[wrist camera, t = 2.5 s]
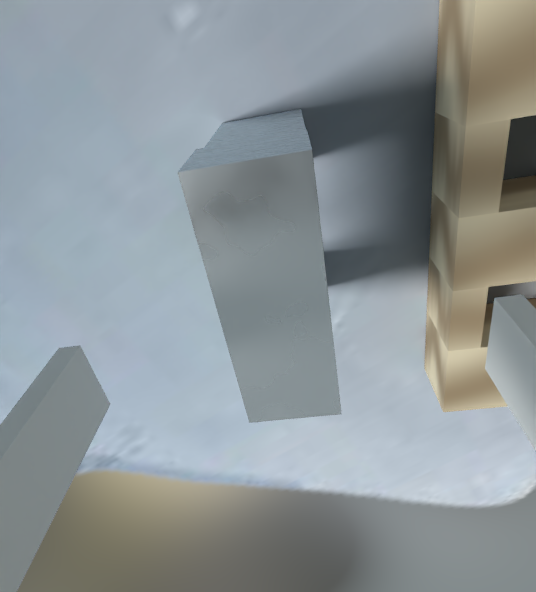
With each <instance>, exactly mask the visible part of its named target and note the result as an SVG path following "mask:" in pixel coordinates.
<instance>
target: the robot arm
mask: <svg viewBox="0 0 536 592" xmlns="http://www.w3.org/2000/svg"><path fill="white" fill-rule="evenodd" d="M485 369H486V371H487V373H488V374H489V376H490V378H491V379H492V381H493V382H494V384H495V386H496V387H497V389H498V391H499V392H500V394H501V396H502V397H503V399H504V400H505V402H506V404H507V405H508V407H509V409H510V410H511V412H512V414H513V415H514V417H515V418H516V420H517V422H518V423H519V425H520V427H521V428H522V430H523V432H524V433H525V435H526V436H527V438H528V440H529V441H530V443H531V445H532V446H533V448H534V450H535V451H536V309H535V307H534V306H533V305H532V304H531V303H530V302H529V301H528V300H527V299H526V298H525V297H524V296H523V295H513V296H505V297H496V298H494V305H493V313H492V320H491V327H490V335H489V342H488V350H487V357H486V364H485ZM109 406H110V403H109V401H108V399H107V397H106V395H105V393H104V391H103V389H102V387H101V385H100V383H99V381H98V379H97V378H96V376H95V374H94V372H93V370H92V368H91V366H90V364H89V362H88V360H87V358H86V356H85V354H84V352H83V350H82V348H81V347H80V346H73V347H64V348H59V349H58V350H57V351H56V353H55V354H54V355H53V356H52V358H51V359H50V360H49V362H48V363H47V364H46V366H45V367H44V368H43V370H42V371H41V372H40V374H39V375H38V376H37V377H36V379H35V380H34V381H33V383H32V384H31V385H30V387H29V388H28V389H27V391H26V392H25V393H24V395H23V396H22V397H21V398H20V400H19V401H18V402H17V404H16V405H15V406H14V408H13V409H12V410H11V412H10V413H9V414H8V416H7V417H6V418H5V419H4V421H3V422H2V423H1V425H0V592H17V590H18V588H19V586H20V584H21V582H22V580H23V578H24V576H25V574H26V572H27V570H28V568H29V566H30V564H31V562H32V560H33V558H34V556H35V554H36V552H37V550H38V548H39V546H40V544H41V542H42V540H43V538H44V536H45V534H46V532H47V530H48V528H49V526H50V524H51V522H52V520H53V518H54V516H55V514H56V512H57V510H58V508H59V506H60V504H61V502H62V500H63V498H64V496H65V494H66V492H67V490H68V488H69V486H70V484H71V482H72V480H73V478H74V476H75V474H76V472H77V470H78V468H79V466H80V464H81V462H82V460H83V458H84V456H85V454H86V452H87V450H88V448H89V446H90V444H91V442H92V440H93V438H94V436H95V434H96V432H97V430H98V428H99V426H100V424H101V422H102V420H103V418H104V416H105V414H106V412H107V410H108V408H109Z"/></svg>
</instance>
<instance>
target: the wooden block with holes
mask: <svg viewBox="0 0 536 592" xmlns="http://www.w3.org/2000/svg"><path fill="white" fill-rule="evenodd" d="M533 115H536V0H440V4H439V28H438V53H437V77H436V102H435V126H434V150H433V175H432V199H431V224H430V248H429V273H428V297H427V321H426V346H425V371H426V373H427V375H428V378H429V380H430V382H431V385H432V387H433V389H434V392H435V394H436V396H437V399H438V401H439V403H440V406H441V408H442V410H443V412H451V411H462V410H473V409H484V408H495V407H506V406H508V405H507V404H506V402H505V400H504V399H503V397H502V396H501V394H500V392H499V391H498V389H497V387H496V386H495V384H494V382H493V381H492V379H491V378H490V376H489V374H488V373H487V371H486V369H485V364H486V357H487V350H488V342H489V335H490V327H491V320H492V313H493V305H494V303H491V304H486V303H487V295H488V288H489V287H492V286H500V285H508V284H516V283H524V282H532V281H536V175H533V176H527V177H520V178H514V179H507V180H503V175H504V167H505V160H506V152H507V145H508V137H509V130H510V122H511V119H515V118H521V117H527V116H533ZM527 300H528V301H529V302H530V303H531V304H532V305H533V306H534V307H535V309H536V298H533V299H527Z"/></svg>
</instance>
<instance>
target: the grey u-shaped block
mask: <svg viewBox="0 0 536 592" xmlns="http://www.w3.org/2000/svg"><path fill="white" fill-rule="evenodd" d="M178 175H179V179H180V182H181V186H182V189H183V193H184V196H185V200H186V203H187V207H188V210H189V214H190V217H191V221H192V224H193V228H194V231H195V235H196V238H197V242H198V245H199V249H200V252H201V256H202V259H203V262H204V266H205V269H206V273H207V276H208V280H209V283H210V287H211V290H212V294H213V297H214V301H215V304H216V308H217V311H218V315H219V318H220V322H221V325H222V329H223V332H224V336H225V339H226V343H227V346H228V350H229V353H230V357H231V360H232V363H233V367H234V370H235V374H236V377H237V381H238V384H239V388H240V391H241V395H242V398H243V402H244V405H245V409H246V412H247V416H248V419H249V423H250V422H261V421H272V420H283V419H294V418H305V417H315V416H326V415H337V414H341V405H340V396H339V387H338V378H337V369H336V360H335V351H334V342H333V333H332V324H331V315H330V306H329V297H328V288H327V279H326V270H325V261H324V252H323V243H322V234H321V225H320V216H319V207H318V198H317V189H316V180H315V171H314V162H313V153H312V147H311V143H310V139H309V136H308V132H307V130H306V128H305V124H304V120H303V116H302V112H301V109H296V110H291V111H285V112H280V113H274V114H269V115H263V116H258V117H252V118H247V119H242V120H236V121H231V122H225V123H222V124H221V126H220V127H219V128H218V130H217V131H216V132H215V134H214V135H213V136H212V138H211V139H210V141H209V142H208V143H207V145H206V146H205V147H204V148H201V149H196V150H195V151H194V153H193V154H192V155H191V156H190V158H189V159H188V160H187V161H186V163H185V164H184V165H183V166H182V168H181V169H180V170H179V171H178Z"/></svg>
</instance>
